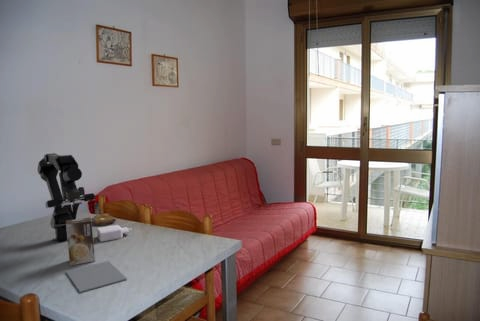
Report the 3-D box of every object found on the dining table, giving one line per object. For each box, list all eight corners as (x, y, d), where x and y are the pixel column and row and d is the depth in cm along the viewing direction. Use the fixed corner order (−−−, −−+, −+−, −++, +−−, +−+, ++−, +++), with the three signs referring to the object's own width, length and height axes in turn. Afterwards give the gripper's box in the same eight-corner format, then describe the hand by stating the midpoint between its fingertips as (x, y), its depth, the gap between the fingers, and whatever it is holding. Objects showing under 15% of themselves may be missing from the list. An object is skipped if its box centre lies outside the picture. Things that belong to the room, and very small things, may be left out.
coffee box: (94, 256, 149) (91, 216, 148) (95, 261, 144) (92, 220, 142) (69, 260, 146) (66, 219, 144) (69, 265, 140) (65, 224, 138)
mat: (65, 272, 134) (65, 271, 134) (108, 262, 143) (108, 260, 143) (80, 293, 118) (80, 291, 118) (126, 279, 127) (126, 278, 127)
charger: (135, 236, 174) (101, 242, 166) (129, 231, 181) (97, 237, 174) (134, 226, 173) (100, 232, 165) (129, 222, 181) (96, 227, 173)
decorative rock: (87, 222, 200) (97, 229, 189) (87, 215, 200) (96, 221, 188) (109, 217, 207) (119, 224, 196) (108, 210, 207) (118, 216, 195)
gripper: (46, 185, 147) (53, 224, 146) (95, 178, 158) (102, 215, 157) (42, 188, 156) (48, 225, 155) (89, 181, 167) (95, 216, 166)
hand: (74, 220), depth 158 cm, fingers closed
